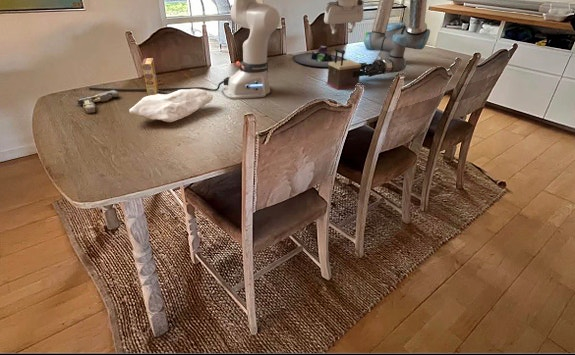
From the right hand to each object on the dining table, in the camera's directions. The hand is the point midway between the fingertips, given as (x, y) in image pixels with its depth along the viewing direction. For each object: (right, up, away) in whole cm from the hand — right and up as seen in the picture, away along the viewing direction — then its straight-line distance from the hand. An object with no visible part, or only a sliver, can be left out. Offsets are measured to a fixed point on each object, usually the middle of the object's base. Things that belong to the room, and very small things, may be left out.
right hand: (347, 71), depth 186 cm
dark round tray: (-11, +19, +41) cm, 46 cm away
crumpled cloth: (-78, -28, -37) cm, 91 cm away
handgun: (-111, -23, -31) cm, 117 cm away
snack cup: (+29, +38, +73) cm, 87 cm away
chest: (-2, -6, +3) cm, 7 cm away
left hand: (-5, +15, -13) cm, 20 cm away
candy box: (-93, -16, -19) cm, 96 cm away
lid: (-2, +2, -3) cm, 4 cm away
